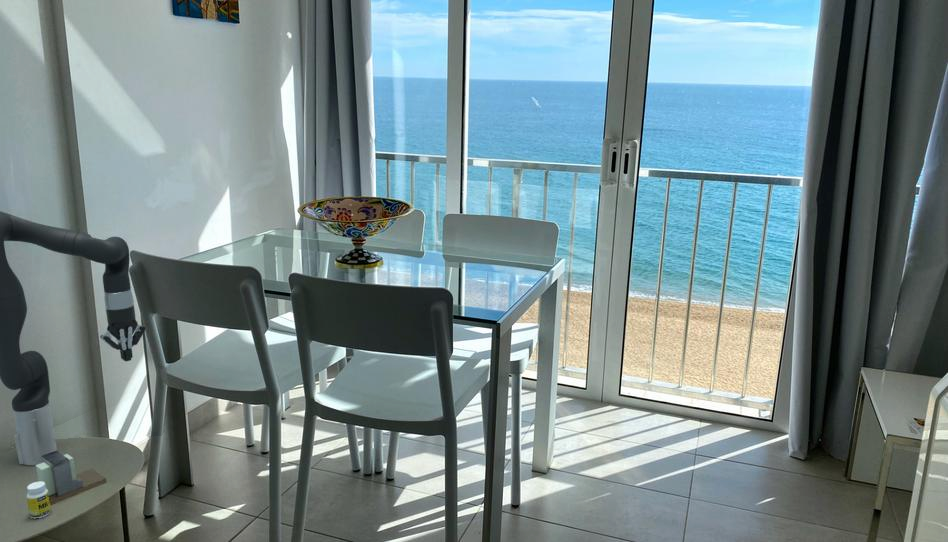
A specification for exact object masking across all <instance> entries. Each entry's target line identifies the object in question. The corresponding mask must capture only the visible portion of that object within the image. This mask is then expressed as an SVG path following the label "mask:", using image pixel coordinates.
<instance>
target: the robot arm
mask: <svg viewBox="0 0 948 542" xmlns="http://www.w3.org/2000/svg"><path fill="white" fill-rule="evenodd" d="M5 242H19V243H21V242H23V243H27V244H33V245H36V246H38V247H40V248H44V249H46V250H49V251H52V252H54V253H59V254H62V255H63V254H64V255H67V256H68V255H69V256H74V257H82V258H84V259H86V260H90V261H92V262H95V263H97V264H98V263H99V264H103V265H104V267H105V269H104V272H103V274H102V285H103V293H104V294H103V295H104V306H105V313H106V321H107V328H106V332H105V333H104V334H101V335H100V336H99V337H100V339H101V340H102V341H104V342H105V343H106V344H107V345H109V346H110V348H113V349H115V350H117V351H119V353H120V354H119V355H120V358H121V360H123V361H124V362H126V363H127V362H130V361H132V359H133V358H134V357H133V349H132V348H133V347H134V346H137V345H138V343H140V340H141V338H142V337H143V335H144V333H145V331H146V329H147V328H146V326H143V325H140V324H138V323H139V322H138V321H137V319H136V309H135V300H134V296H133V292H132V287H131V280H130V274H129V273H130V272H129V271H130V249H129V245H128V243H127V241H126V240H125V239H124V238H121V237H120V236H110V237H107V239H102V238H101V239H100V238H97V237H92V236H91V234H90V233H86V232H83V231H78V230H73V229H67V228H61V227H58V226H57V227H56V226H50V225H45V224H41V223H38V222H34V221H31V220H27V219H24V218H21V217H19V216H16V215H13V214H10V213H8V212H4V211H1V210H0V381H1V382H2V384H3V385H4V386H5V387H6V388H7V389H9V390H12V391H17V390H18V392H17V394H16V395H15V396H14V397H13V398H12V400H11V408H12V412H13V413H12V414H13V418H14V424H15V430H16V433H15V434H14V437H13V438H14V442H15V446H16V447H15V449H16V453H17V458H18V464H19V465H25V466H36V465H38V464H41V463H42V460H41V456H42V455H45V454H48V453H51V452H54V451H56V450H57V451H58V448H57V443H56V436H55V431H54V424H53V419H52V412H51V405H50V401H49V397H50V393H51V387H50V376H49V368H48V364H47V361H46V359H45V357H44V356H43V354H41V353H40V352H38V351H36V350H28V351H24V352H21V348H20V347H21V346H20V340H21V339H20V338H21V335H22V332H23V328H24V325H25V322H26V318H27V313H28V306H27V305H28V304H27V300H26V296H25V290H24V288H23V285H22V283H21V281H20V279H19V278H18V276H17V275H16V274H15V272H14V271H13V269H12V268H11V265H10V264H9V261H8V258H7V252H6V247H5ZM112 337H113V338H115V340H116V342H117V343H116V342H115V341H114V340H113V339H112Z"/></svg>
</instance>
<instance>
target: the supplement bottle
mask: <svg viewBox="0 0 948 542" xmlns="http://www.w3.org/2000/svg"><path fill="white" fill-rule="evenodd" d="M26 491H27V494H26V500H27V507H28V511H29V517H30V518H31V519H32V518H34V519H33V520H36V518H39V519H43V518H46V517H47V516H48V515H50V514H51V512H52V509H51V505H50V501H49V494H48V490H47V489H46V486H45V482H42V481H39V482H38V481H34V482H32V483H30V484H29V485H27V487H26ZM42 517H43V518H42Z"/></svg>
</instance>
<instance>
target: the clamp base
mask: <svg viewBox="0 0 948 542" xmlns="http://www.w3.org/2000/svg"><path fill="white" fill-rule="evenodd" d="M64 455H65V454H62V453H61V452H60V451H58V449H57V450H56V451H54V452H51V453H48V454H45V455H42V456H41V460H42V463H43V462H46V463H48V464H49V465H50V466H51V467H52V473H53V478H54V484H55V494H52V495H50V496H49V501H50V506H51V505H54V504H57V503H59V502H61V501H63V500H66V499H68V498H70V497H71V498H72V497H73V496H76V495H78V494H81V493H83V492H85V491H88V490H90V489H93V488H96V487H97V486H100V485H103V484H106V483H107V477H105V476H104V475H102V474H101V473H99V472H98V471H96V470H94V469H93V468H89V469H87V470H84V471H80V472H79V473H76V478H77V479H76V480H73V479H72V473H71V467H70V461H69V459H68V458H67V457H65V456H64Z"/></svg>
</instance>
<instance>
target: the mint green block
mask: <svg viewBox="0 0 948 542" xmlns="http://www.w3.org/2000/svg"><path fill="white" fill-rule="evenodd" d="M63 455H64V456H65V457H67V458H68V459H69V461H70V467H71V473H72V479H73V480H76V479H77V478H76V474H77V473H76V466H75V460H74V457H72V456H71V455H69V453H66V454H63ZM35 470H36V476H37V480H38V481H37V482H39V481H42V482H45V486H46V489H47V490H48V494H49V496H50V495H52V494H55V484H54V478H53V473H52V467H51V466H50V465H49V464H48V463H46V462H43V463H41V464H38V465H35Z"/></svg>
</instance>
